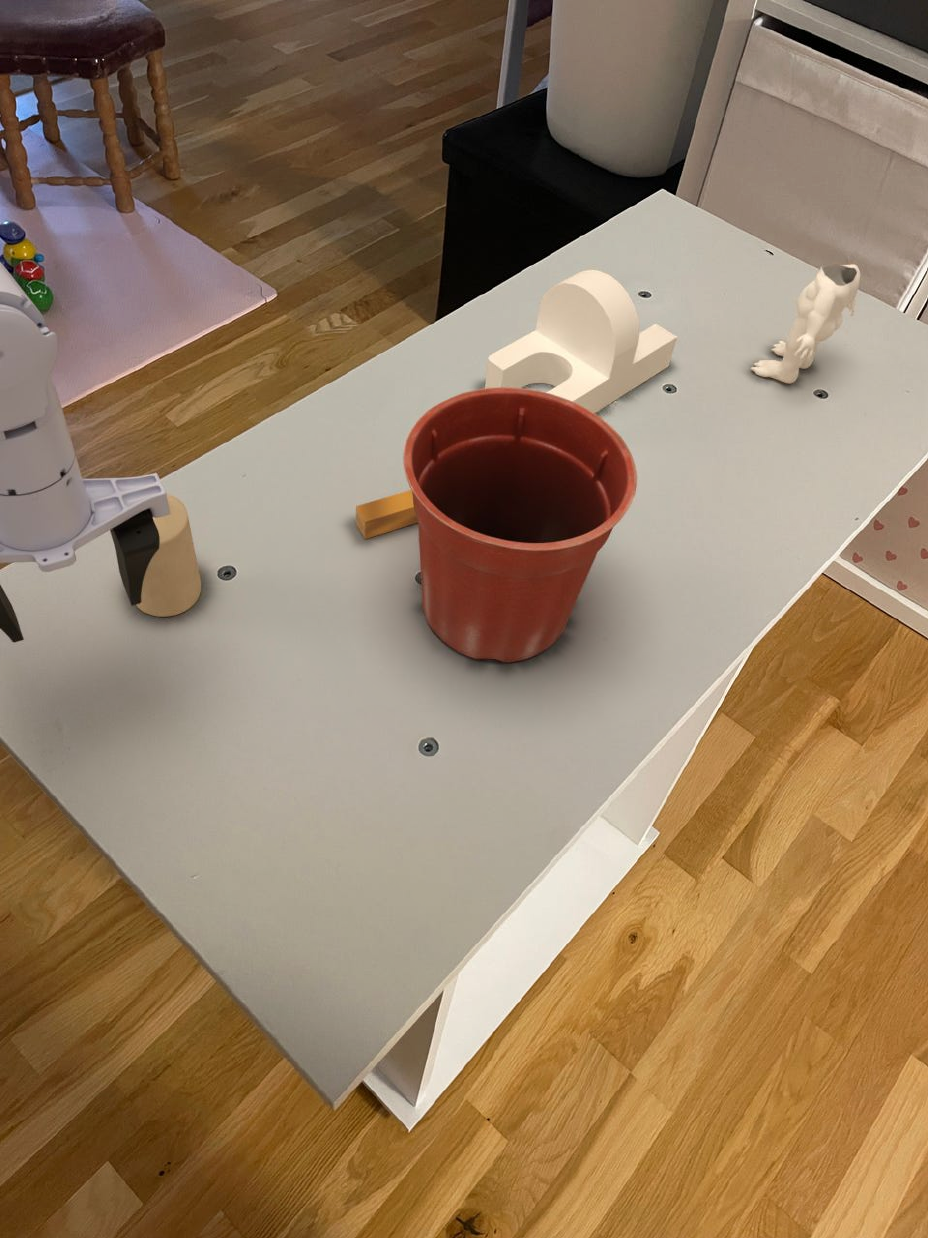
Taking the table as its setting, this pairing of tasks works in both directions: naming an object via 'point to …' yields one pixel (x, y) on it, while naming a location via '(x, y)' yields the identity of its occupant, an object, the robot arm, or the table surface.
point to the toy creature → (813, 321)
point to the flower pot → (511, 514)
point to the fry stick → (386, 514)
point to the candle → (172, 566)
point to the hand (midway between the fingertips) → (75, 611)
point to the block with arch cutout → (584, 345)
